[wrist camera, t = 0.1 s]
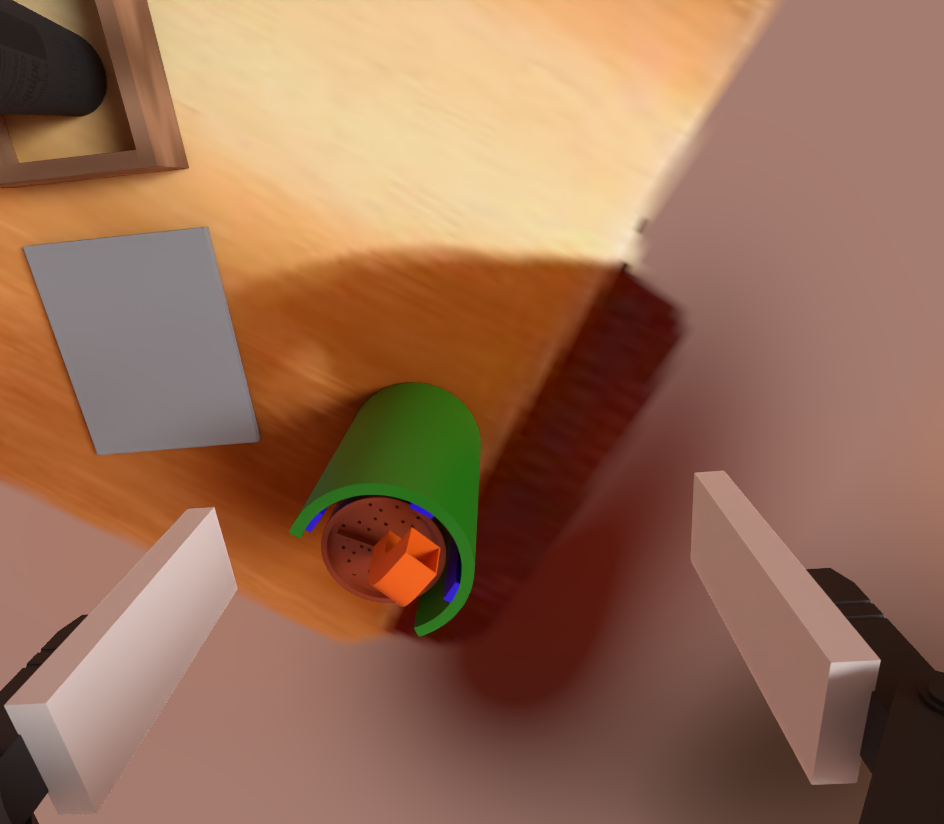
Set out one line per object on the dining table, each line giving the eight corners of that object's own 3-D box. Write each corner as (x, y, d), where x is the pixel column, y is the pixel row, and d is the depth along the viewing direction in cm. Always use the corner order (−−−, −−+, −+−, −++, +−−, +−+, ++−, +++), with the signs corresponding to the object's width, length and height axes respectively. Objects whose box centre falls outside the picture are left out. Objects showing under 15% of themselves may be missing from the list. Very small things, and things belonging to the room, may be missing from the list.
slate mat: (29, 245, 41) (22, 246, 41) (208, 226, 40) (204, 227, 40) (102, 452, 47) (97, 455, 46) (260, 438, 46) (257, 442, 46)
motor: (336, 450, 46) (233, 629, 28) (389, 357, 43) (314, 486, 25) (447, 510, 48) (420, 716, 29) (505, 423, 45) (517, 591, 26)
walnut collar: (-65, -31, 35) (-130, -57, 32) (132, -58, 35) (89, -88, 31) (12, 187, 40) (-37, 187, 36) (188, 168, 39) (157, 165, 35)
